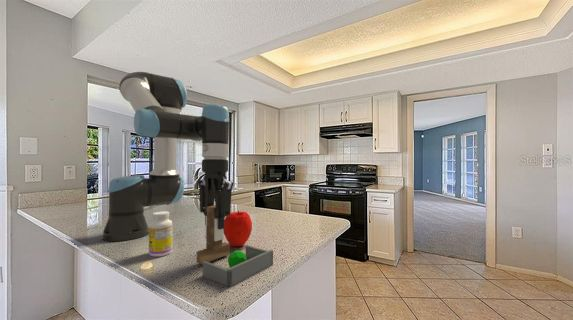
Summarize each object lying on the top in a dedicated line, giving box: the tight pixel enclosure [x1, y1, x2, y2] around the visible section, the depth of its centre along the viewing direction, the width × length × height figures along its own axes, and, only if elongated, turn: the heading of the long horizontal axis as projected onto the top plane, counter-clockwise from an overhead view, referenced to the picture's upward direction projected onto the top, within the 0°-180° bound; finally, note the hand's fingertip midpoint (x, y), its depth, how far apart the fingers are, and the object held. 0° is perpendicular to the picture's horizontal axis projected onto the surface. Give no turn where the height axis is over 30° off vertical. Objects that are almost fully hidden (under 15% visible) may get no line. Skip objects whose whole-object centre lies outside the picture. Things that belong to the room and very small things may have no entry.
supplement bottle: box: [148, 210, 173, 258], centre depth 79 cm, size 7×7×13 cm
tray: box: [202, 244, 274, 288], centre depth 67 cm, size 10×16×4 cm, turn 144°
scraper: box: [196, 204, 231, 265], centre depth 74 cm, size 3×10×15 cm, turn 145°
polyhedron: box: [227, 250, 248, 268], centre depth 68 cm, size 5×5×5 cm
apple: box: [223, 210, 253, 247], centre depth 87 cm, size 10×10×12 cm
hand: (214, 238), depth 74 cm, fingers closed on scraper, 3 cm apart
